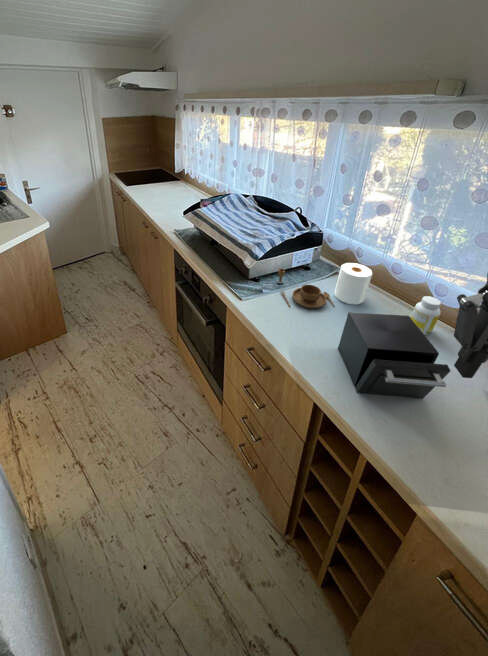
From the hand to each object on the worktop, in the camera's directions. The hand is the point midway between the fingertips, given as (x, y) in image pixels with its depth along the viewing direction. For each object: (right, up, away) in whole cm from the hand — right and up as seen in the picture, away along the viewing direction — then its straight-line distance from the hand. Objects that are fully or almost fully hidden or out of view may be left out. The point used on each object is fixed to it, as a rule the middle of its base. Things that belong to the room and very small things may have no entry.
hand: (462, 371), depth 56 cm
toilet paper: (+11, +6, +60) cm, 62 cm away
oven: (+2, -11, +30) cm, 32 cm away
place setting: (-6, +6, +62) cm, 63 cm away
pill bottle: (+25, -3, +44) cm, 51 cm away
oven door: (+1, -15, +22) cm, 27 cm away
